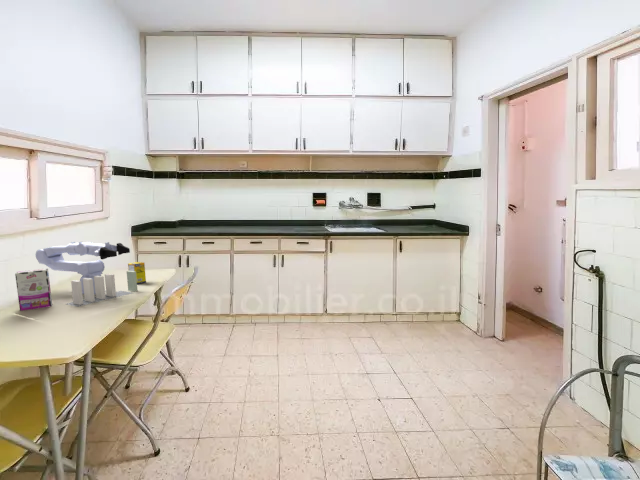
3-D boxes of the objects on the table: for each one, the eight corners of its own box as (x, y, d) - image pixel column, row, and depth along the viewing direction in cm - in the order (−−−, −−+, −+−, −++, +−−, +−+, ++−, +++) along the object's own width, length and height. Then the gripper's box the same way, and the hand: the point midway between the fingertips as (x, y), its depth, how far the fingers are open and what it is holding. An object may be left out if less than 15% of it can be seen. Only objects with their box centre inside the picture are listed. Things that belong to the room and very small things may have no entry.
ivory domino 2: (91, 301, 183) (89, 279, 181) (84, 300, 185) (82, 278, 184) (94, 301, 184) (92, 278, 183) (88, 299, 187) (86, 277, 185)
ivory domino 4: (112, 296, 191) (110, 275, 190) (106, 295, 194) (104, 274, 192) (116, 295, 192) (114, 274, 191) (109, 294, 195) (107, 273, 194)
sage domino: (134, 292, 200) (132, 272, 199) (128, 291, 203) (126, 271, 202) (137, 291, 202) (135, 271, 200) (131, 290, 204) (129, 270, 203)
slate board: (77, 308, 175) (77, 306, 175) (65, 305, 181) (65, 303, 180) (133, 294, 197) (133, 292, 197) (121, 291, 202) (120, 290, 202)
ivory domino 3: (102, 299, 187) (100, 277, 186) (95, 297, 189) (93, 276, 188) (105, 298, 188) (103, 276, 187) (99, 297, 191) (97, 275, 190)
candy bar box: (52, 305, 181) (48, 268, 179) (51, 308, 177) (47, 269, 175) (21, 309, 176) (16, 271, 174) (19, 312, 172) (14, 273, 170)
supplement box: (146, 282, 223) (144, 262, 221) (136, 284, 218) (134, 264, 216) (139, 281, 226) (137, 261, 225) (129, 283, 221) (127, 263, 219)
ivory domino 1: (79, 304, 178) (77, 281, 177) (73, 303, 181) (71, 280, 180) (83, 303, 180) (81, 281, 178) (77, 302, 182) (74, 280, 181)
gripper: (85, 244, 189) (109, 246, 184) (111, 238, 202) (133, 240, 198) (87, 259, 190) (110, 262, 186) (112, 253, 203) (135, 255, 199)
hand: (122, 252), depth 192 cm, fingers open, 7 cm apart
